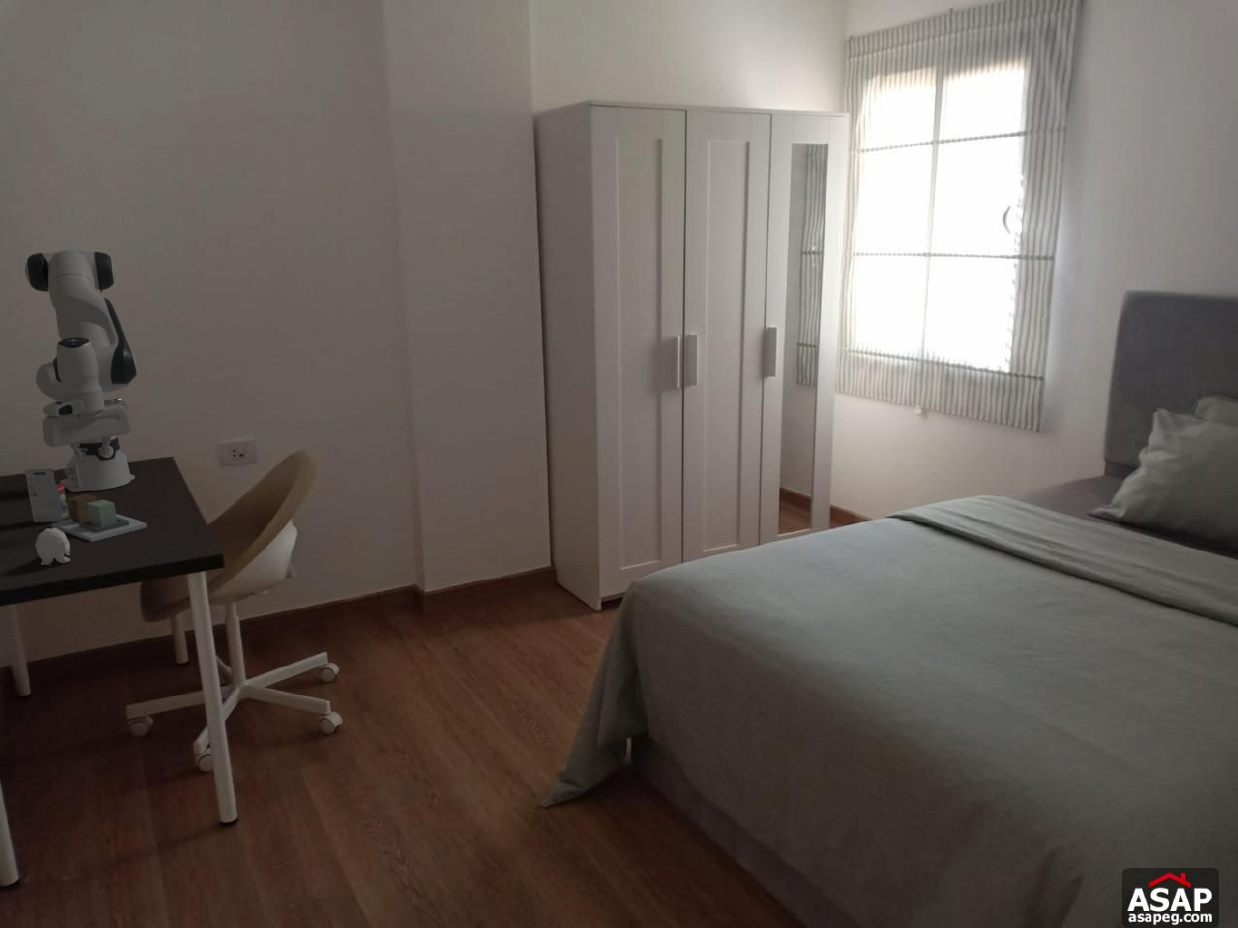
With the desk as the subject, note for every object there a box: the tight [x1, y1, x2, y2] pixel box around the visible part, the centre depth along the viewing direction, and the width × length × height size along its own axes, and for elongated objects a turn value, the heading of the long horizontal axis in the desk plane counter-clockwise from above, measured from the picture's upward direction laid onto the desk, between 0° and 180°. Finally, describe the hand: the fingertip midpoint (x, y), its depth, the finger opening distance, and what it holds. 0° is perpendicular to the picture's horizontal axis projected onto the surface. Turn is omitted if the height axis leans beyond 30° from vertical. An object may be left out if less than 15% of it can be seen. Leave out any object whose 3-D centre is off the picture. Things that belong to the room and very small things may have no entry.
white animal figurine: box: [34, 527, 72, 566], centre depth 226 cm, size 6×8×12 cm
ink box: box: [25, 468, 71, 523], centre depth 257 cm, size 4×8×15 cm, turn 90°
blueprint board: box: [51, 493, 148, 543], centre depth 250 cm, size 22×14×7 cm, turn 53°
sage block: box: [87, 499, 117, 527], centre depth 248 cm, size 6×4×6 cm, turn 53°
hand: (93, 457), depth 245 cm, fingers open, 4 cm apart
